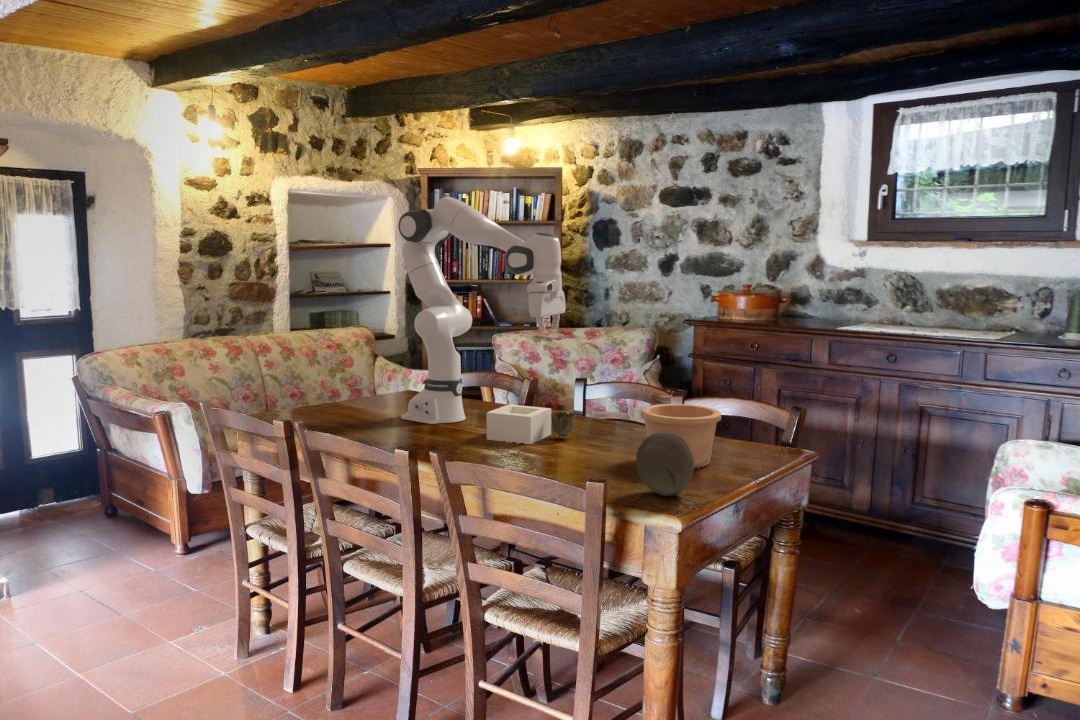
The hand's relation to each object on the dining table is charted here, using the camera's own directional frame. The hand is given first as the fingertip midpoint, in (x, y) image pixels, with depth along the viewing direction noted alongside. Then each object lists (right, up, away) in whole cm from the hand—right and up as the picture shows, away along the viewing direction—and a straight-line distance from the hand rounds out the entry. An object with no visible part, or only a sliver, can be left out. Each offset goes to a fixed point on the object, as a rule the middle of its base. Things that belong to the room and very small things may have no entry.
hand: (548, 330), depth 257 cm
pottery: (+36, -38, -28) cm, 59 cm away
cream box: (-9, -33, 0) cm, 35 cm away
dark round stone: (+27, -42, -59) cm, 77 cm away
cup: (+4, -34, -2) cm, 34 cm away
